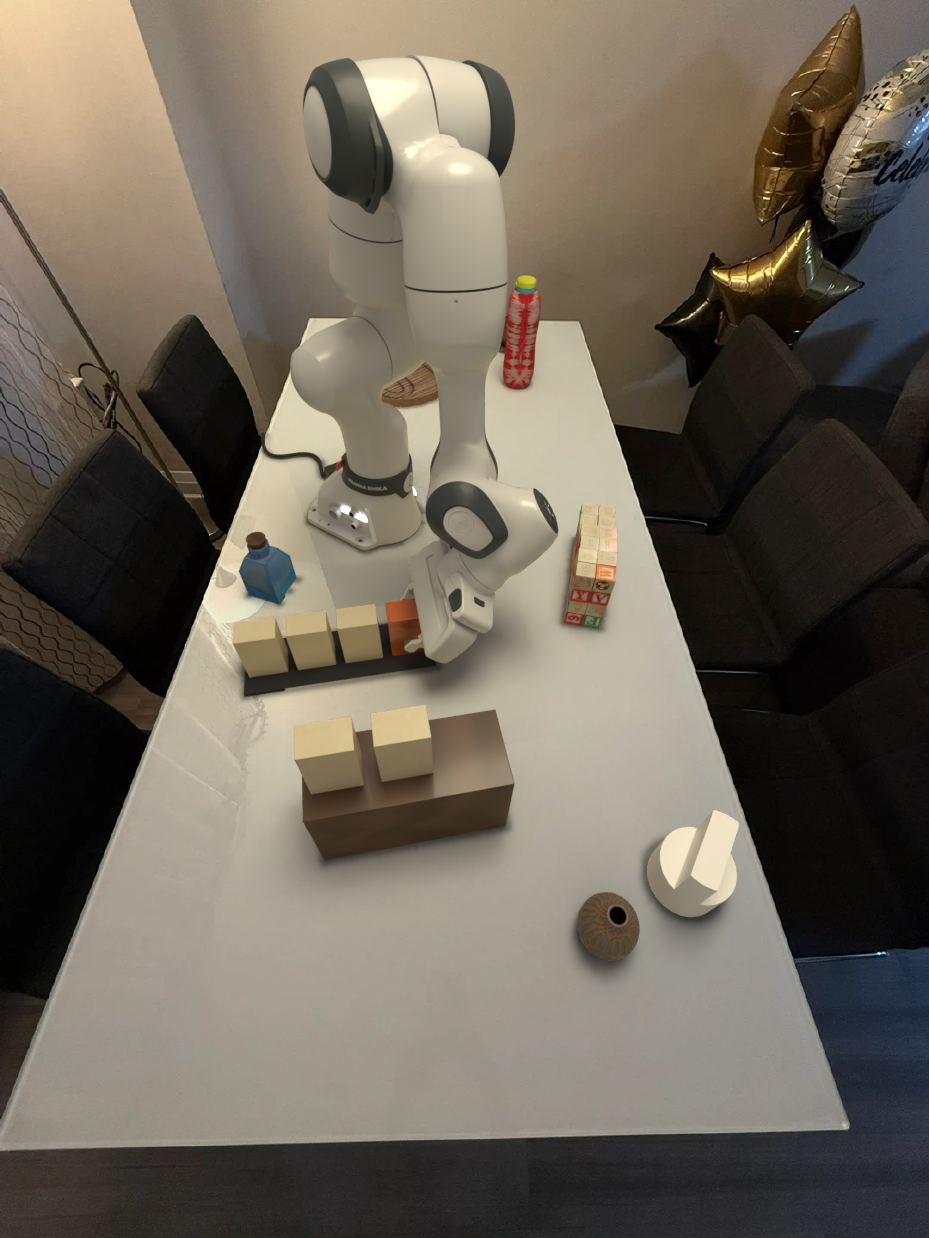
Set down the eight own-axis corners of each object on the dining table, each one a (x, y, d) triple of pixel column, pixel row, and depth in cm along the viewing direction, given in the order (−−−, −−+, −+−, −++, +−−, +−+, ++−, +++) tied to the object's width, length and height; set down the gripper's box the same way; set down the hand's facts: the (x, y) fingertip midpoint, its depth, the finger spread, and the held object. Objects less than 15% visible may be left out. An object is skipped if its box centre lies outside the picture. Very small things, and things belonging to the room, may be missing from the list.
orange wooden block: (392, 656, 94) (387, 622, 87) (389, 637, 96) (384, 602, 89) (429, 651, 95) (427, 616, 88) (425, 632, 97) (423, 597, 90)
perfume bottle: (297, 579, 105) (282, 530, 95) (279, 604, 101) (262, 555, 92) (267, 571, 106) (249, 521, 97) (248, 595, 102) (228, 546, 93)
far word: (244, 696, 89) (225, 661, 82) (247, 645, 96) (229, 607, 88) (436, 667, 93) (435, 631, 86) (427, 620, 100) (425, 582, 92)
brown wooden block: (324, 860, 74) (284, 789, 57) (321, 787, 81) (284, 702, 63) (505, 825, 78) (522, 748, 60) (489, 757, 84) (500, 669, 66)
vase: (568, 903, 72) (580, 884, 65) (622, 898, 72) (640, 879, 65) (579, 967, 68) (594, 954, 61) (637, 961, 68) (658, 948, 61)
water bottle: (501, 368, 153) (508, 263, 134) (531, 369, 153) (543, 265, 134) (500, 392, 146) (508, 285, 126) (532, 393, 145) (545, 287, 126)
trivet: (408, 346, 160) (408, 339, 158) (470, 382, 148) (470, 375, 147) (333, 377, 149) (331, 370, 147) (393, 418, 137) (392, 411, 136)
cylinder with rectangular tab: (706, 932, 70) (745, 909, 61) (636, 890, 73) (663, 861, 64) (727, 866, 75) (766, 835, 66) (661, 829, 78) (689, 794, 68)
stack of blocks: (573, 539, 113) (585, 488, 103) (606, 544, 112) (620, 493, 102) (563, 623, 100) (575, 574, 90) (600, 629, 99) (616, 580, 89)
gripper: (438, 520, 90) (381, 571, 96) (464, 622, 77) (396, 673, 83) (466, 537, 94) (409, 586, 100) (494, 637, 81) (427, 685, 88)
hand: (403, 626), depth 92 cm, fingers open, 7 cm apart
